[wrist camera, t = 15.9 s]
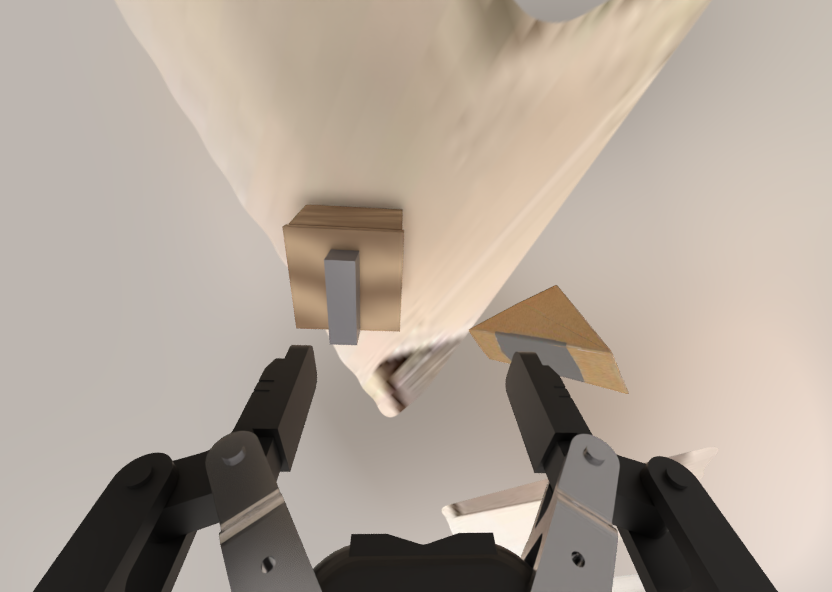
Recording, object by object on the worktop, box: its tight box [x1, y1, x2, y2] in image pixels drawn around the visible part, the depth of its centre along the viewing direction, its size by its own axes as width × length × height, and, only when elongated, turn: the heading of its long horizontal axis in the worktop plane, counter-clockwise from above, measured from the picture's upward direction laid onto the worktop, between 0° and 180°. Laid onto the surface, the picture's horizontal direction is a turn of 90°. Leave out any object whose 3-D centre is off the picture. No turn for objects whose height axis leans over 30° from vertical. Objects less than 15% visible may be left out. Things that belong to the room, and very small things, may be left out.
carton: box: [289, 205, 402, 230], centre depth 39 cm, size 12×12×7 cm
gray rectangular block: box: [324, 249, 360, 345], centre depth 34 cm, size 10×3×3 cm, turn 176°
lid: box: [283, 224, 404, 331], centre depth 35 cm, size 12×12×1 cm
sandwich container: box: [469, 285, 628, 394], centre depth 44 cm, size 9×15×15 cm, turn 124°
